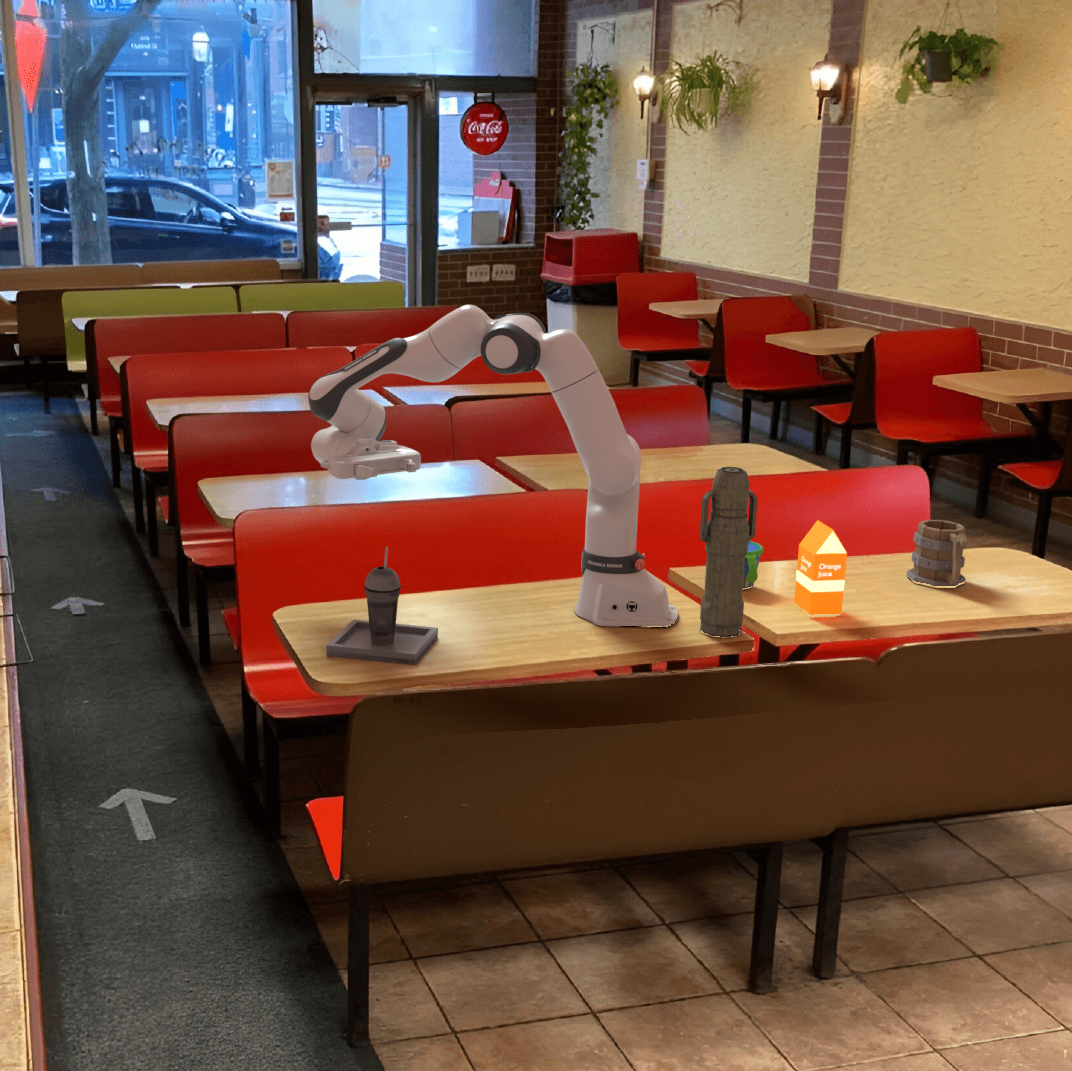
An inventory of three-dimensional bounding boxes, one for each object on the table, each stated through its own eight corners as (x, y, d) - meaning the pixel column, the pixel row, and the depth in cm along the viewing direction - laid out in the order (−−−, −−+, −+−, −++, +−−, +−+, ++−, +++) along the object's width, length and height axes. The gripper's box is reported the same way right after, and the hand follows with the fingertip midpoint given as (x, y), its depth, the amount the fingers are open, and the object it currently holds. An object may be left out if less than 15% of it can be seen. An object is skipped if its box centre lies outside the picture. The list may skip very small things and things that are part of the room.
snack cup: (769, 596, 305) (773, 554, 303) (725, 597, 303) (729, 555, 301) (747, 576, 320) (750, 535, 317) (705, 577, 318) (708, 536, 315)
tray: (437, 637, 271) (437, 627, 271) (415, 665, 256) (415, 654, 256) (353, 629, 275) (353, 619, 274) (326, 655, 259) (326, 645, 259)
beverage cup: (382, 632, 270) (382, 538, 265) (408, 641, 266) (409, 545, 260) (356, 642, 264) (355, 545, 259) (382, 651, 260) (382, 553, 255)
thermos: (756, 635, 279) (769, 472, 270) (707, 641, 275) (718, 475, 265) (733, 621, 287) (745, 463, 278) (685, 627, 282) (696, 466, 273)
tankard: (901, 572, 327) (907, 513, 323) (951, 573, 328) (958, 514, 324) (929, 598, 308) (936, 535, 304) (982, 598, 309) (990, 536, 305)
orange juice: (808, 618, 291) (816, 530, 286) (793, 605, 299) (800, 519, 294) (842, 617, 293) (850, 529, 287) (825, 604, 301) (833, 518, 296)
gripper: (316, 448, 277) (349, 461, 267) (399, 439, 290) (435, 451, 279) (316, 478, 279) (350, 491, 269) (399, 467, 291) (434, 480, 281)
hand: (394, 470), depth 274 cm, fingers open, 8 cm apart
